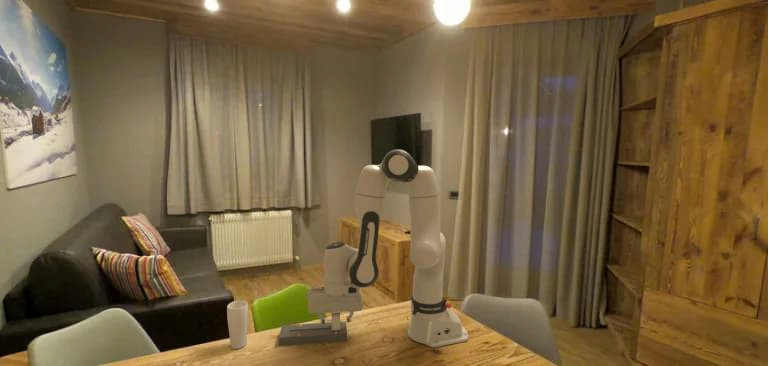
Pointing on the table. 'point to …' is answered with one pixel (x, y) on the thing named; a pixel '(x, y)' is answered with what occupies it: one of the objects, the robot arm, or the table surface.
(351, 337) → the table surface
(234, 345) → the drinking glass
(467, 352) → the table surface
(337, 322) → the fader tab
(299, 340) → the console
